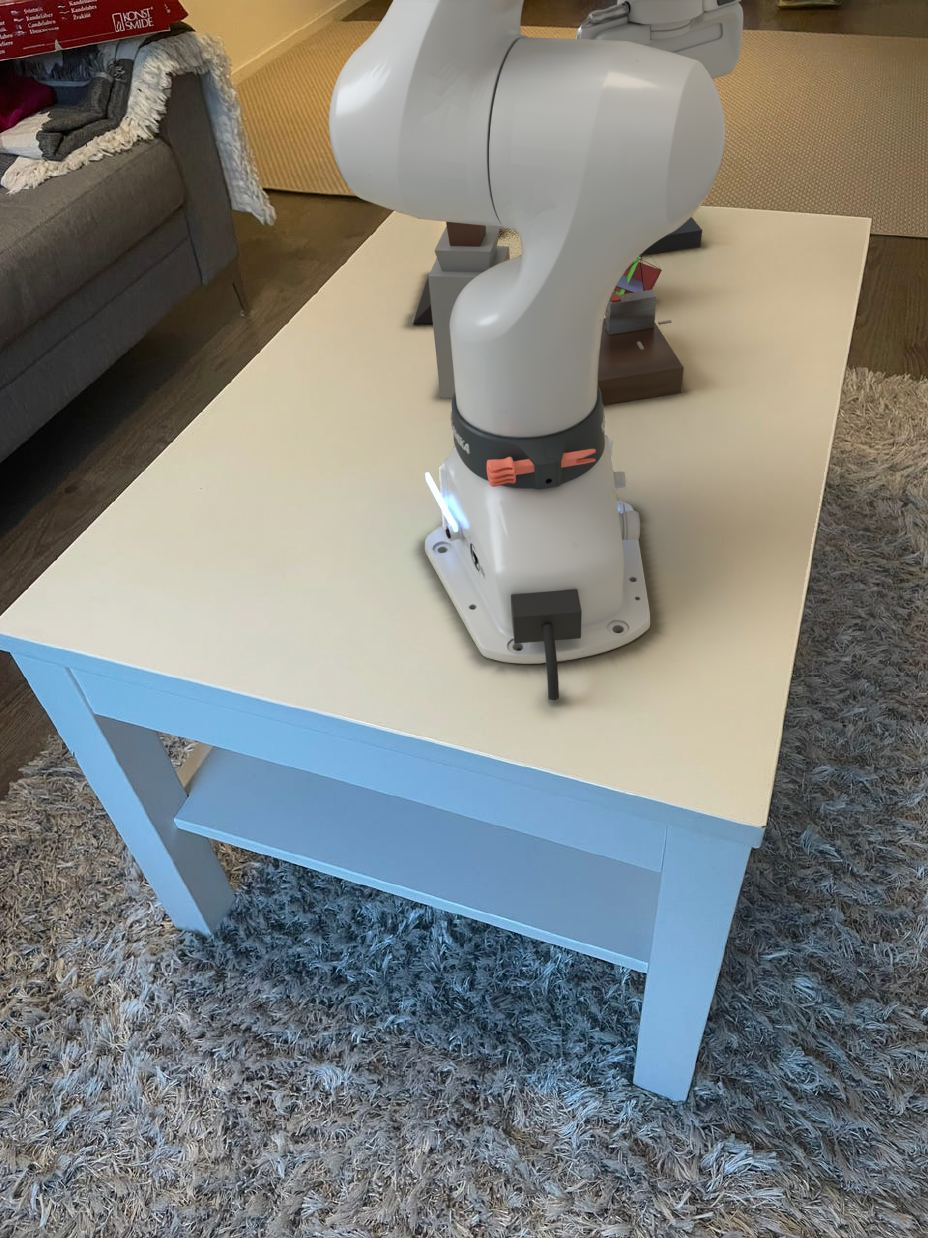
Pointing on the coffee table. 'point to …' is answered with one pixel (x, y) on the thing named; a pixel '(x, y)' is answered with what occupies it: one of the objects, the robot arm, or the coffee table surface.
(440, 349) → the perfume bottle
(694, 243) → the block
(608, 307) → the grey block
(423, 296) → the black triangular piece
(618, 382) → the dark brown block
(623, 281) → the geometric puzzle
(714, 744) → the coffee table surface
